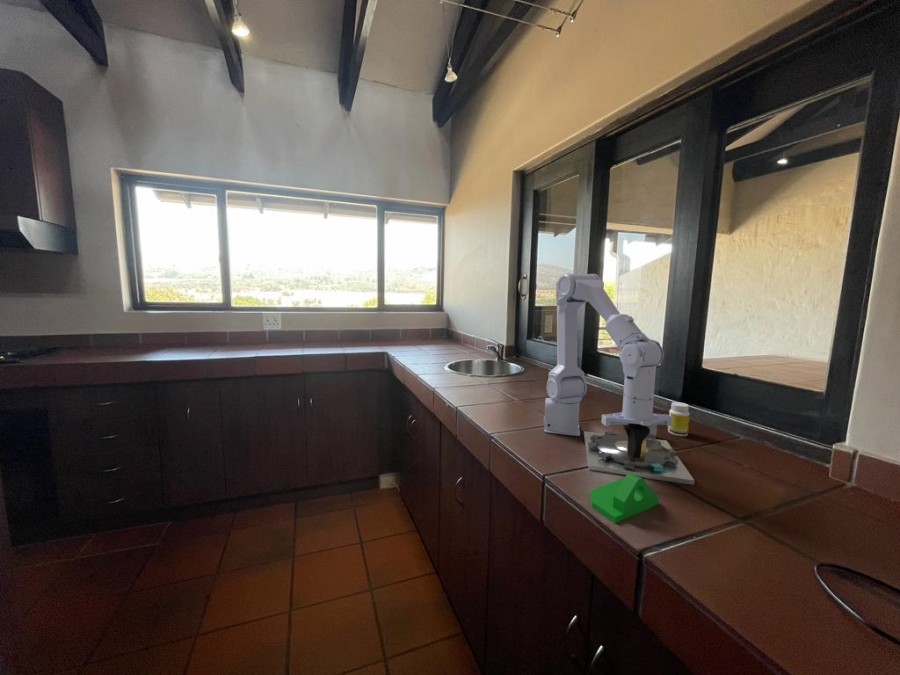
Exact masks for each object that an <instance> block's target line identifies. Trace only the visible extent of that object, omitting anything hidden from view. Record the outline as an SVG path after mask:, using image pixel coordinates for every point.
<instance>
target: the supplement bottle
mask: <svg viewBox="0 0 900 675" xmlns="http://www.w3.org/2000/svg"><path fill="white" fill-rule="evenodd" d="M670 407H671V408H670V409H669V412H668V415H669V416H671V417H673V419H672V426H667V431H668V433H669V434H671V435H673V436H676V437H677V436H678V437H687V436H688V435H689V428H690V418H691V417H690V416H691V415H690V412H689V409H690V406H689V404H687V403H685V402H678V401H673V402H671V405H670Z"/></svg>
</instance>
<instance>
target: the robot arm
mask: <svg viewBox="0 0 900 675" xmlns="http://www.w3.org/2000/svg"><path fill="white" fill-rule="evenodd" d="M555 289H556V290H555V304H556V365H555V367H554V368H552V369H551V370H550V371H549V372H548V378H547V382H546V388H545V389H546V393H547V395H548V397H545V404H544V416H543V424H544V425H543V428H544V430H543V431H544V433H548V434H549V433H550V434H557V435H558V434H559V435H566V436H574V437H580V436H581V431H580V425H579V417H580V416H579V415H580V414H579V413H580V401H583V400H582V399H583V397H584V396H585V395H586V394H587V391H588V387H587V381H586V378H585V372H584V371H583V370H582V369H581V368H580V367H579V366H578V310H579V309H580V308H581V306H583V305H584V304H586V303H587V302H588V303H589V305H591V307H592V308H594V310H595V311H596V312H597V313H598V314H599V316H601V317H602V318H603V320H604V321H605V322H606V324H605V326H604V327H605V328H604V329H605V332H607V334H608V335H609V336H610V338H611V339H612V341H613V342H614V343H615V345H616V346H617V348H618V349H619V351H620V352H619V353H618V356H619V360H620V363H621V364H622V372H623V375H624V381H623V395H622V396H623V397H622V398H623V399H622V409H621V410H622V411H620V412H614V413H609V414H608V413H607V414H601V421H600V422H601V424H602V425H604V426H605V427H611V426H622V427H623V430H625V434H626V435H627V436H628V446H627V452H628V455H629V456H631V457H632V458H640V456H641V446H642V442H643V441H644V439H645V438H646V437H647V436H648V435H649V433H650V429H649V428H648V427H647V426H651V425H657V426H660V425H663V426H664V425H665V426H667V427H668V426H672V419H673V417H671V416H669V414H667V413H664V414H663V413H656V412H655V413H653V412H654V410H653V409H654V398H655V385H656V373H657V367H658V366H660V365H661V363H662V362H663V360H664V357H665V354H664V349H663V347H662V346H661V344H660V342H659V341H657V340H654V339H650V337H648V336H647V335H646V334H645V333H644V332H642V330H641V329H640V328H639V326H638V325H637V324H636V323H635V319H634V318H633V316H631V315H628V314H624V313H620V311H619V309H618V308H617V307H616V305H615V304H614V303H613V301H612V299H611V297H610V296H609V295H608V293H607V292H606V290H605V282H604V280H602V279H601V277H600V276H599V275H598V274H596V273H588V274H587V273H567V272H566V273H563V274H562V275H560V277H559V279H558V280H557V281H556V282H555Z"/></svg>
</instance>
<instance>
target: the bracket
mask: <svg viewBox="0 0 900 675" xmlns="http://www.w3.org/2000/svg"><path fill="white" fill-rule="evenodd" d="M644 479H645V478H642V477H638V476H636V475H634V474H632V473H629V474H627V475H625V477H624V479H623V478H620V479H617V480H614V481H611V482H609V483H606V484H604V485H600V486H598V487H595V488H592V489H590V492H589V497H590V505H591V508H592V509H593V510H594V511H596V512H598V513H599V514H601V515H602V516H603V517H605V518H607V519H608V520H610V521H611V522H613V523H614V524H616V523H618V522H621V521H623V520H626V519H627V518H630V517H632V516H634V515H638V514H639V513H642V512H643V511H645V510H648V509H650V508H653V507H654V506H657V505H659V504H660V498H659V497H658V495H657V494H656V492H654V490H653V489H652V488H651V486H649V484H648V483H647V482H646V481H645V480H644Z"/></svg>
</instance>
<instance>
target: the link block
mask: <svg viewBox="0 0 900 675" xmlns="http://www.w3.org/2000/svg"><path fill="white" fill-rule="evenodd" d="M647 427H648V428H649V429H650V433H649V435H648V436H647V437H646V438H648V439H657V431H658V425H651V426H647Z"/></svg>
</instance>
